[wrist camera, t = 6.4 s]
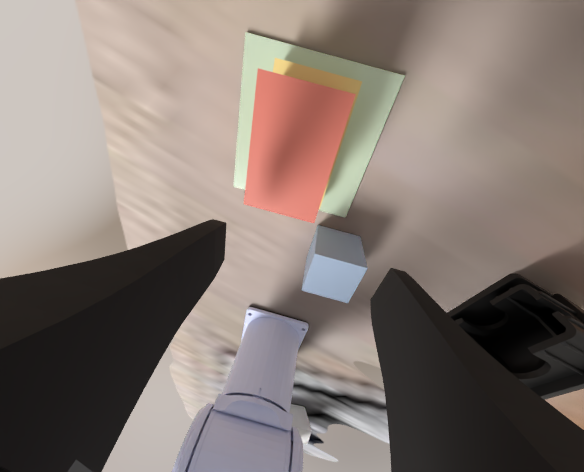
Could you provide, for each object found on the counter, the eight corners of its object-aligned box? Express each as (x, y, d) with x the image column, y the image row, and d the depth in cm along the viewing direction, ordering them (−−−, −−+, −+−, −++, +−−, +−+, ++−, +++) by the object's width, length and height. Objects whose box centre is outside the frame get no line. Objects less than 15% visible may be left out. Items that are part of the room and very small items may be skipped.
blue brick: (344, 268, 21) (347, 303, 18) (306, 257, 21) (301, 290, 18) (360, 236, 19) (367, 268, 15) (317, 224, 19) (314, 253, 15)
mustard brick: (320, 199, 18) (319, 209, 16) (263, 183, 18) (255, 191, 16) (358, 84, 13) (362, 81, 12) (281, 63, 13) (274, 57, 12)
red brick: (318, 194, 15) (314, 223, 12) (264, 179, 15) (243, 204, 12) (347, 97, 12) (355, 94, 8) (280, 79, 12) (257, 68, 8)
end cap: (475, 349, 25) (519, 422, 19) (427, 324, 24) (458, 393, 18) (575, 301, 19) (677, 383, 14) (518, 267, 18) (602, 339, 13)
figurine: (269, 395, 40) (240, 531, 27) (319, 406, 39) (314, 552, 26) (268, 411, 43) (243, 536, 31) (314, 421, 43) (307, 554, 30)
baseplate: (345, 216, 18) (345, 217, 18) (234, 185, 18) (233, 186, 18) (404, 76, 13) (404, 75, 13) (246, 33, 13) (245, 32, 13)
